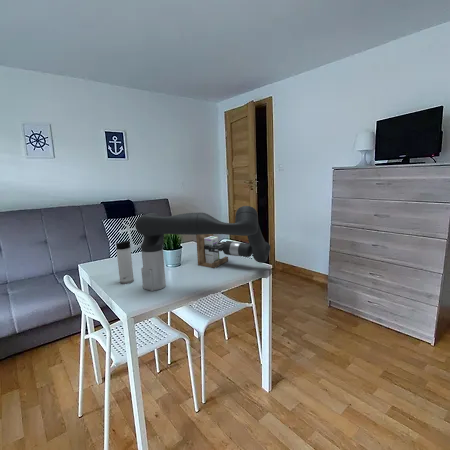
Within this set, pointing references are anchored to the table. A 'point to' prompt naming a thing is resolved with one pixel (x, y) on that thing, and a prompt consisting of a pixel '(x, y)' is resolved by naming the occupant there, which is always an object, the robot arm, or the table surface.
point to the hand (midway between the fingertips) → (209, 245)
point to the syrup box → (211, 256)
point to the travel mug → (125, 262)
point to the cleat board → (202, 253)
